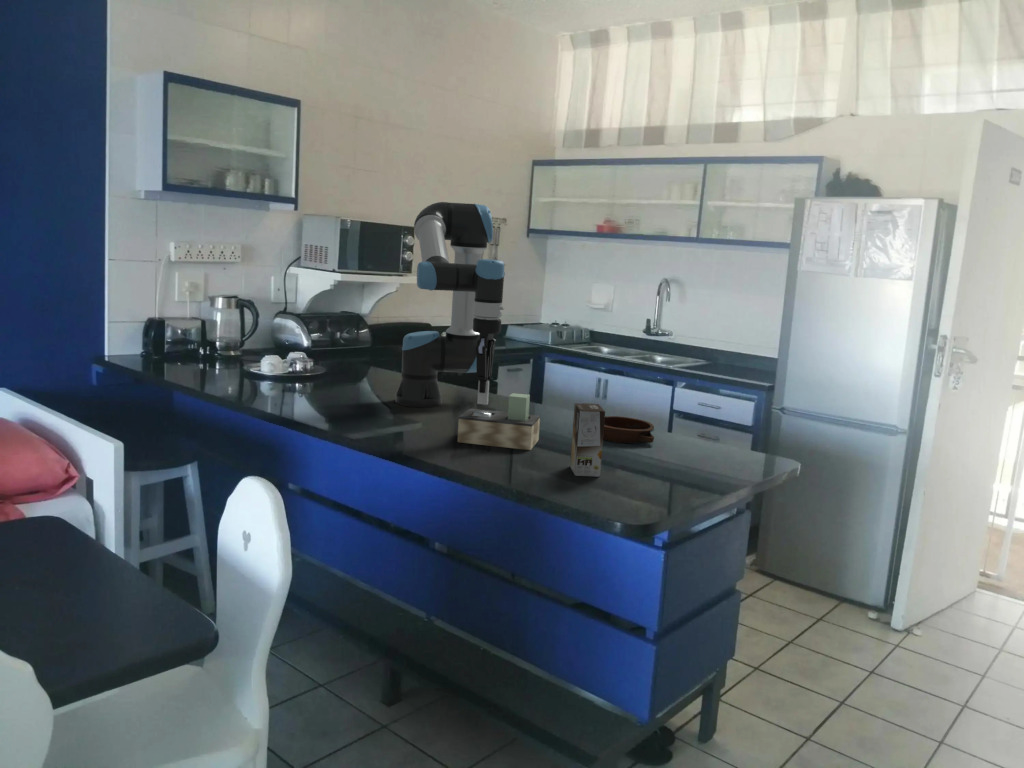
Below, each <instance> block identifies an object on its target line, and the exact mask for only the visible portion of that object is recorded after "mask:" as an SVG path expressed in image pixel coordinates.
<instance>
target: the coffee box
mask: <svg viewBox="0 0 1024 768" xmlns="http://www.w3.org/2000/svg"><path fill="white" fill-rule="evenodd" d="M573 404H574V406H573V419H572V420H573V421H572V422H573V423H572V436H571V450H570V465H569V466H570V469H571V471H572V472H573V475H574V476H575V477H597V478H599V477H600V476H601V470H602V468H601V467H602V457H603V456H602V455H603V444H604V439H603V433H604V421H605V416H606V411H605V410H604V408H603V407H602V406H601V405H600V404H598V403H577V402H576V403H573Z"/></svg>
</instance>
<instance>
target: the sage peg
mask: <svg viewBox="0 0 1024 768" xmlns="http://www.w3.org/2000/svg"><path fill="white" fill-rule="evenodd" d="M530 395H531V394H525V393H514V392H512V393H511V394H510V395H508V406H507V412H508V419H510V420H519V421H528V417H529V414H530V402H531V401H530V399H531V396H530Z"/></svg>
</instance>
